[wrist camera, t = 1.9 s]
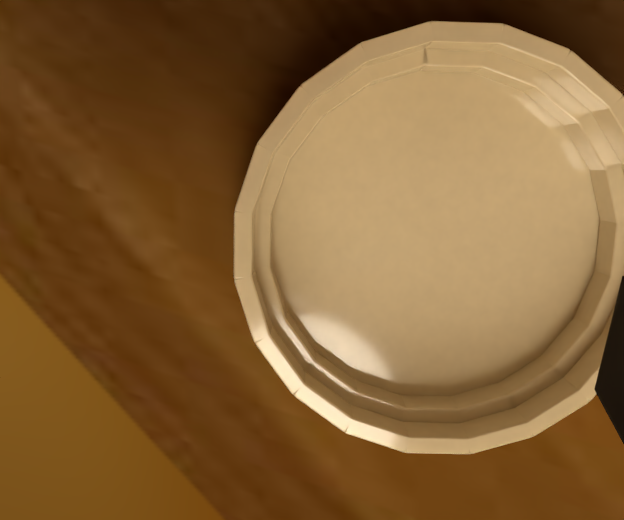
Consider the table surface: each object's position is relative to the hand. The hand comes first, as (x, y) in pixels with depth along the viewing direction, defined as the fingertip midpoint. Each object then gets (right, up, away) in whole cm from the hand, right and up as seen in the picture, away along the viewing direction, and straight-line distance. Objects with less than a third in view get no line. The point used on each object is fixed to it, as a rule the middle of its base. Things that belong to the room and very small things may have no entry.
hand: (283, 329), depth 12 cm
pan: (+6, +2, +13) cm, 15 cm away
